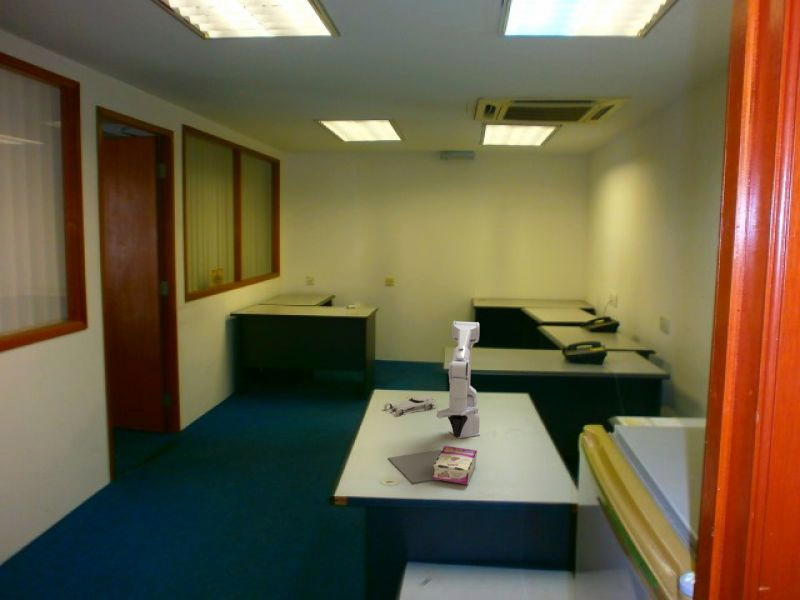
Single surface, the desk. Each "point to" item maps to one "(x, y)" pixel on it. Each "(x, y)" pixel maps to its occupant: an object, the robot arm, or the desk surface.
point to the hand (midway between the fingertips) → (456, 436)
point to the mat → (417, 465)
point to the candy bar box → (455, 465)
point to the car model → (411, 405)
